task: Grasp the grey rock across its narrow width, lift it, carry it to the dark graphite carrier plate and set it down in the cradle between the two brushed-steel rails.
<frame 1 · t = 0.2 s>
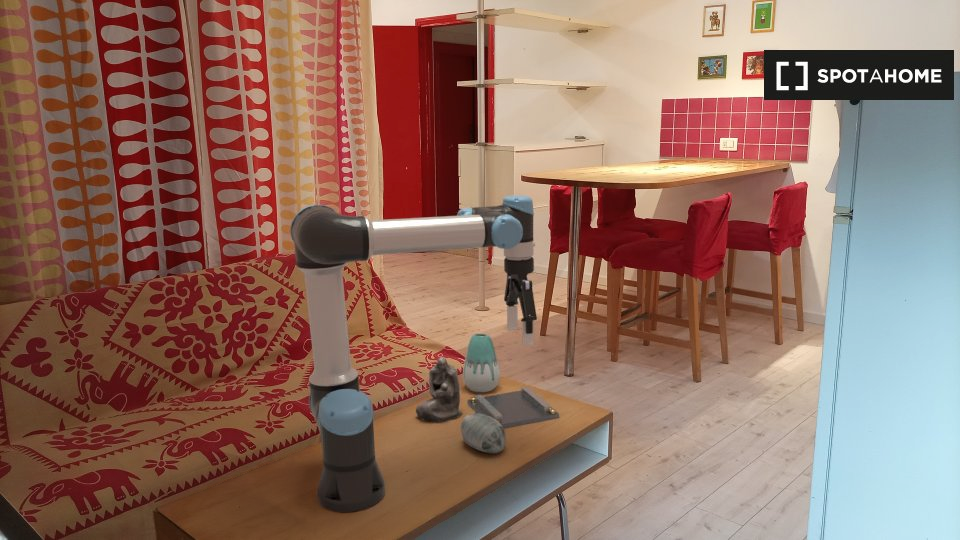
hand: (520, 337, 188), 27 cm above the table, fingers open, 13 cm apart
grey rock: (483, 447, 187), on the table
carrier: (512, 410, 208), on the table
vase: (481, 389, 225), on the table
figurine: (440, 416, 206), on the table
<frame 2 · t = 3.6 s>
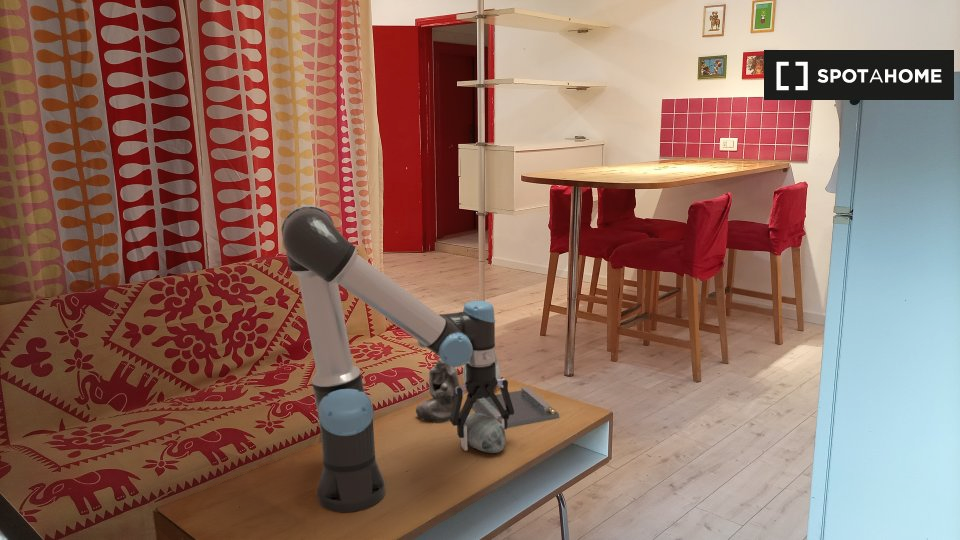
hand: (483, 444, 186), 1 cm above the table, fingers closed on grey rock, 9 cm apart
grey rock: (483, 447, 187), on the table, touching gripper
everything else where it was.
when the fingers open (4 cm above the table, at t = 9.4 s): grey rock drops 2 cm, resting on carrier.
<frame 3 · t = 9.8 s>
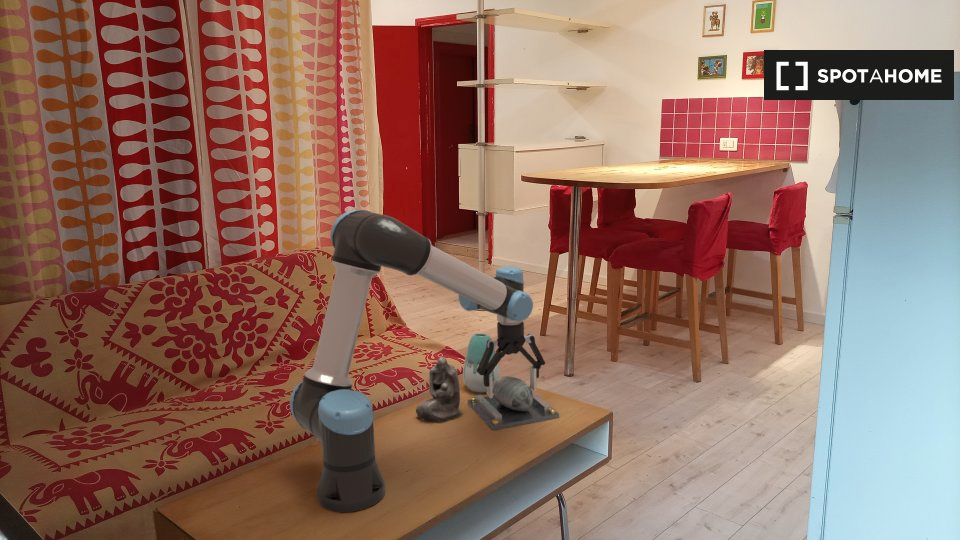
hand: (511, 392, 207), 5 cm above the table, fingers open, 13 cm apart
grey rock: (513, 406, 208), point 1 cm above the table, touching carrier
everything else where it was.
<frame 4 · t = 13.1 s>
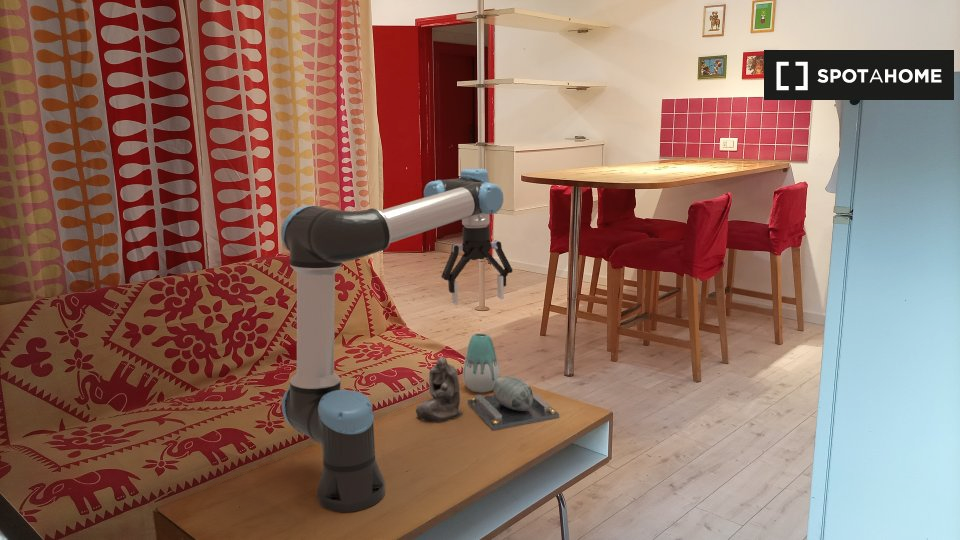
hand: (478, 300, 202), 33 cm above the table, fingers open, 13 cm apart
nothing on the table moved.
at the end: grey rock 0.3 cm from the carrier (horizontally); grey rock touching carrier; the gripper is holding nothing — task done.
